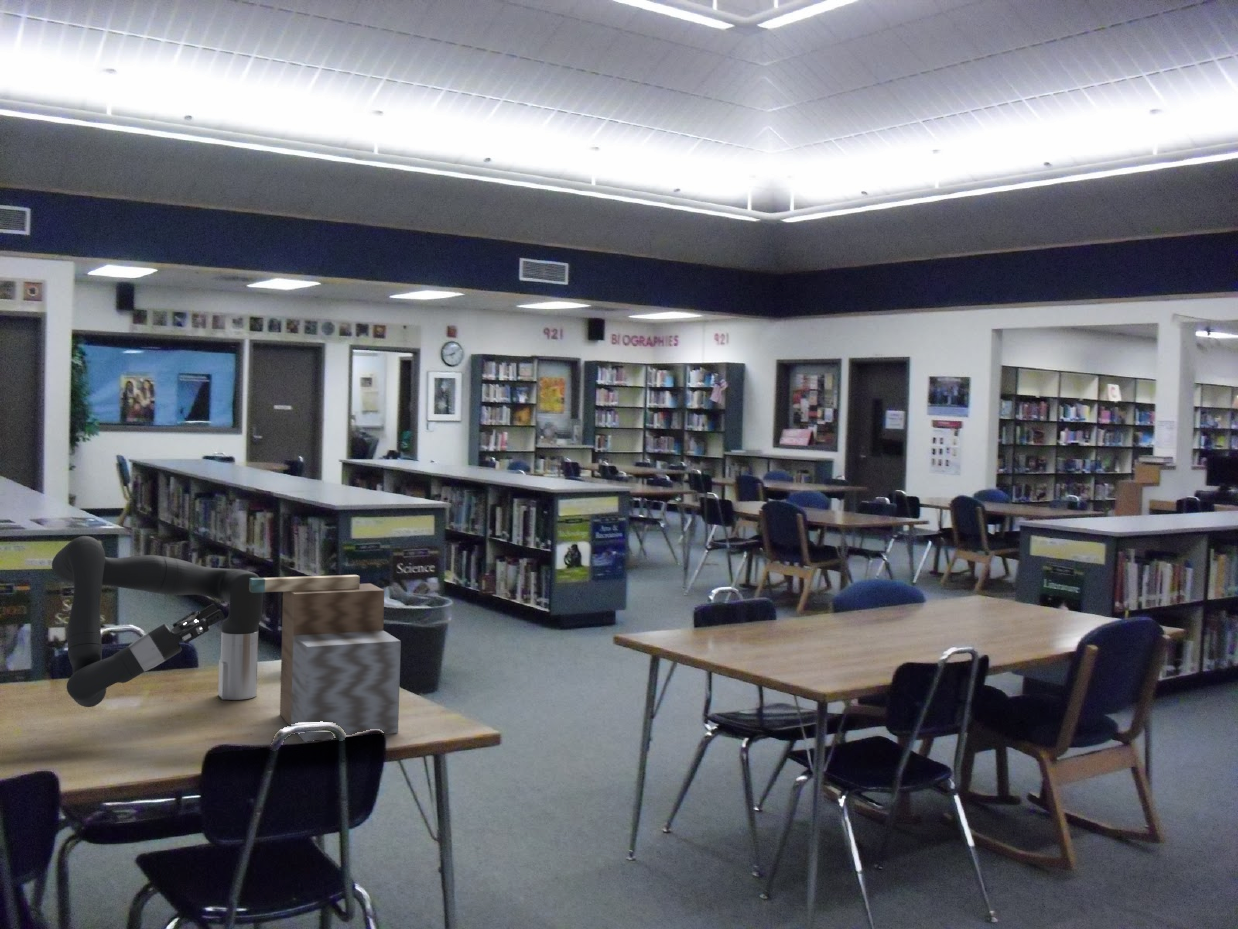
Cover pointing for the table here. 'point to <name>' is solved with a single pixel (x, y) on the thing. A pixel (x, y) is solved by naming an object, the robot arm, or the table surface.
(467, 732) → the table surface
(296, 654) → the pedestal
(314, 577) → the beech bar
